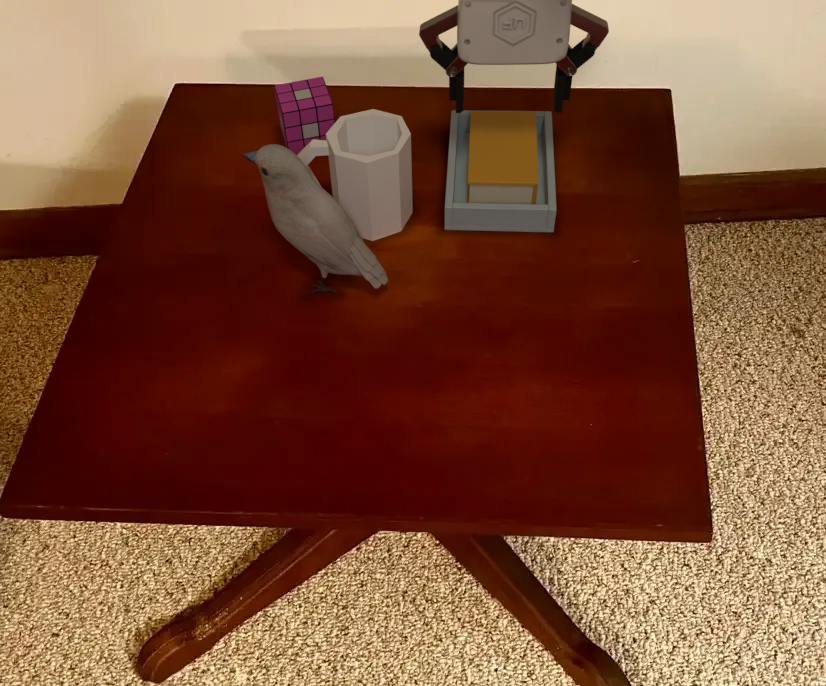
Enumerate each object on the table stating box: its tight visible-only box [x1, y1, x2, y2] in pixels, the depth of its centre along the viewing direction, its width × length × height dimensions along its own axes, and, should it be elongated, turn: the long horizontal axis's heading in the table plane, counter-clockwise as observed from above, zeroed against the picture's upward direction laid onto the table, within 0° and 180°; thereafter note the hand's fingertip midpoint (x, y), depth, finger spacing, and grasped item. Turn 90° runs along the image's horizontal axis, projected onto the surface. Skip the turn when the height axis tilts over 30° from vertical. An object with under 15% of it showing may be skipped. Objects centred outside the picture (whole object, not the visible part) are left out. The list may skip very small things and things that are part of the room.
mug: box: [297, 108, 414, 242], centre depth 88 cm, size 12×9×10 cm
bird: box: [241, 143, 389, 295], centre depth 81 cm, size 5×14×15 cm, turn 67°
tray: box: [443, 109, 558, 233], centre depth 93 cm, size 11×17×3 cm
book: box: [467, 110, 538, 204], centre depth 93 cm, size 12×7×4 cm, turn 174°
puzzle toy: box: [273, 76, 336, 155], centre depth 99 cm, size 6×6×6 cm
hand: (508, 105), depth 87 cm, fingers open, 9 cm apart
